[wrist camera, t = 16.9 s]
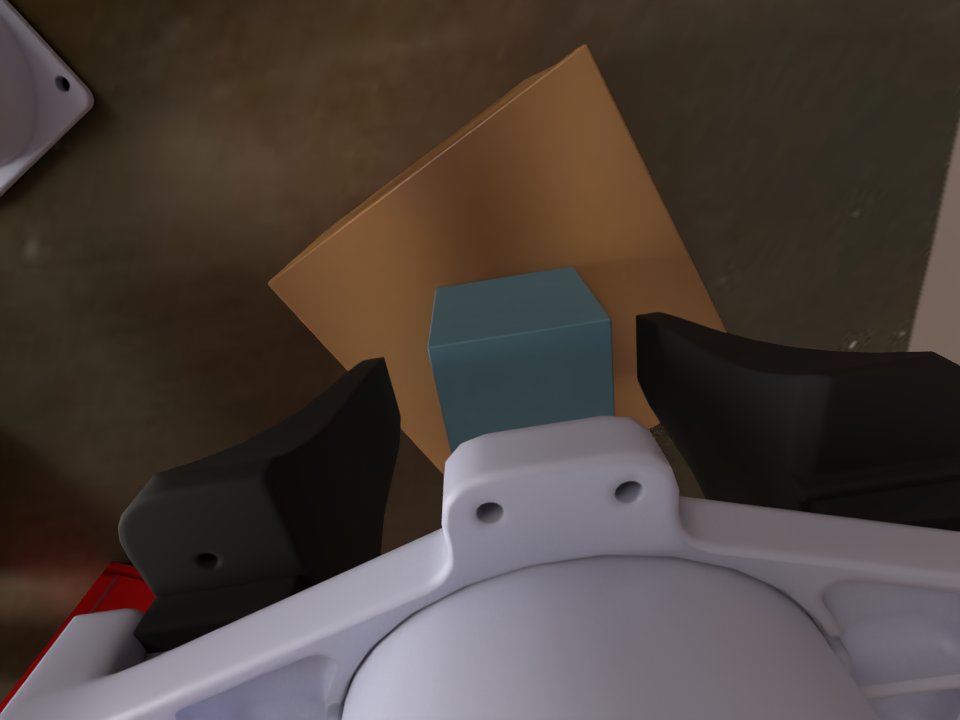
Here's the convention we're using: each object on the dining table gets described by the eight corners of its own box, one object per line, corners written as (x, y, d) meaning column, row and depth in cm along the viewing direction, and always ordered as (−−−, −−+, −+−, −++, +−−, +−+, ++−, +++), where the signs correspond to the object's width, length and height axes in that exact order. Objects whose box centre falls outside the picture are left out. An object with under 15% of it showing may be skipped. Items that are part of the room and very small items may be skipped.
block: (435, 287, 16) (426, 347, 12) (573, 265, 15) (611, 318, 12) (459, 404, 18) (458, 489, 14) (582, 386, 17) (617, 465, 14)
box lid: (580, 45, 13) (586, 41, 13) (739, 367, 18) (749, 376, 18) (273, 277, 16) (266, 283, 15) (482, 506, 21) (482, 518, 20)
